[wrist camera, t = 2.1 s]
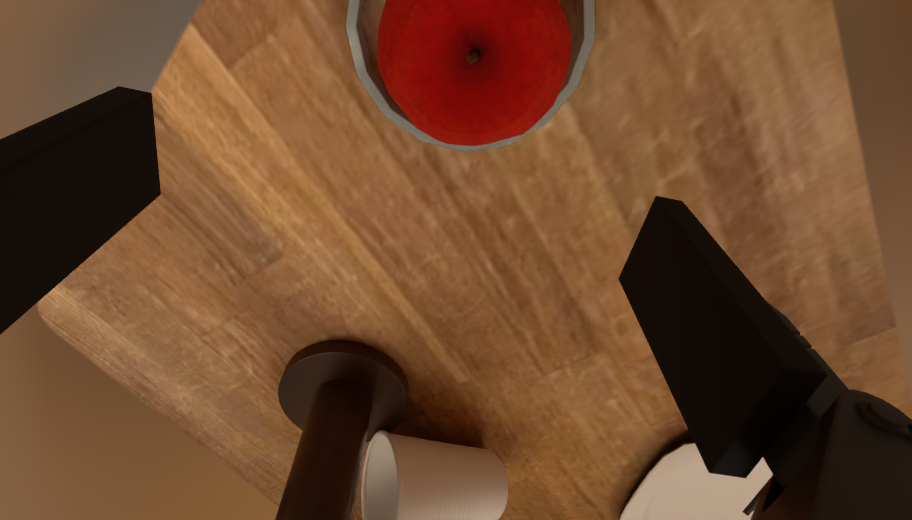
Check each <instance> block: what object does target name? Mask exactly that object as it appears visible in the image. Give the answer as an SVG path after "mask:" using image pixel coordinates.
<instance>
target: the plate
mask: <svg viewBox="0 0 912 520" xmlns="http://www.w3.org/2000/svg"><path fill="white" fill-rule="evenodd" d="M772 475H773V474H772V472H771V470H770V468H769V467H768V465H767V463H766V462H765V460H764V458H763V457H762V459H761V460H760V461H759V462H758V464H757V465H756V466H755V467H754V469H753V470H752V471H751V472H750V474H749V475H748V476H747V477H746V478H740V477H733V476H726V475H719V474H713V473H709V472H708V470H707V468H706V466H705V464H704V462H703V459H702V457H701V455H700V453H699V451H698V449H697V446H696V444H695V442H688V443H683V444H682V445H680V446H678V447H677V448H675V449H673V450H671V451H670V452H668V453H666V454H665V455H663V456H662V457H661V458H660V459H659V461H658V462H657V463H656V464H655V465H654V466H653V467H652V468H651V469H650V470H649V471H648V473H647V474H646V476H645V477H644V478H643V480H642V481H641V483H640V484H639V485H638V487H637V488H636V490H635V491H634V493H633V494H632V496H631V497H630V499H629V501H628V502H627V504H626V505H625V507H624V509H623V511H622V513H621V515H620V517H619V520H751V517H752V515H753V512H754V511H753V512H751V513H750V514H749V515H746V514H745V513H743V512H742V511H743V510H744V509H745V508H746V507H747V505H748V504H749V503H750V502H751V501H752V499H753V498H754V497H755V496H756V495H757V493H758V492H759V491H760V490H761V489H762V487H763V486H764V485H765V484H766V483H767V481H768V480H769V479H770V478H771V477H772Z"/></svg>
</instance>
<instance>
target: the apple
mask: <svg viewBox="0 0 912 520" xmlns="http://www.w3.org/2000/svg"><path fill="white" fill-rule="evenodd" d="M377 47H378V68H379V71H380V73H381V76H382V78H383V81H384V83H385V86H386V89H387V91H388V93H389V95H390V96H391V97H392V98H393V100H394V101H395V102H396V103H397V105H398V106H399V107H400V108H401V110H402V111H403V112H404V113H405V114H406V116H407V117H408V118H409V119H410V121H411V122H412V123H413V124H414V126H415V127H416V128H417V129H419V130H421V131H422V132H424V133H426V134H427V135H429V136H431V137H432V138H434V139H436V140H438V141H441V142H444V143H446V144H453V145H464V146H479V145H484V144H490V143H494V142H497V141H501V140H504V139H508V138H511V137H515V136H518V135H522V134H524V133H525V132H526V131H528V130H529V129H530V128H532V127H533V126H534V125H535V124H536V123H537V122H538V121H539V120H540V119H541V118H542V117H543V116H544V115H545V114H546V113H547V112H548V111H549V110H550V109H551V108H552V107H553V105H554V103H555V101H556V99H557V97H558V94H559V92H560V90H561V88H562V86H563V83H564V81H565V79H566V75H567V71H568V67H569V63H570V59H571V31H570V27H569V24H568V21H567V18H566V15H565V13H564V11H563V9H562V7H561V5H560V3H559V1H558V0H387V1H386V3H385V6H384V8H383V12H382V16H381V20H380V24H379V31H378V40H377Z"/></svg>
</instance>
